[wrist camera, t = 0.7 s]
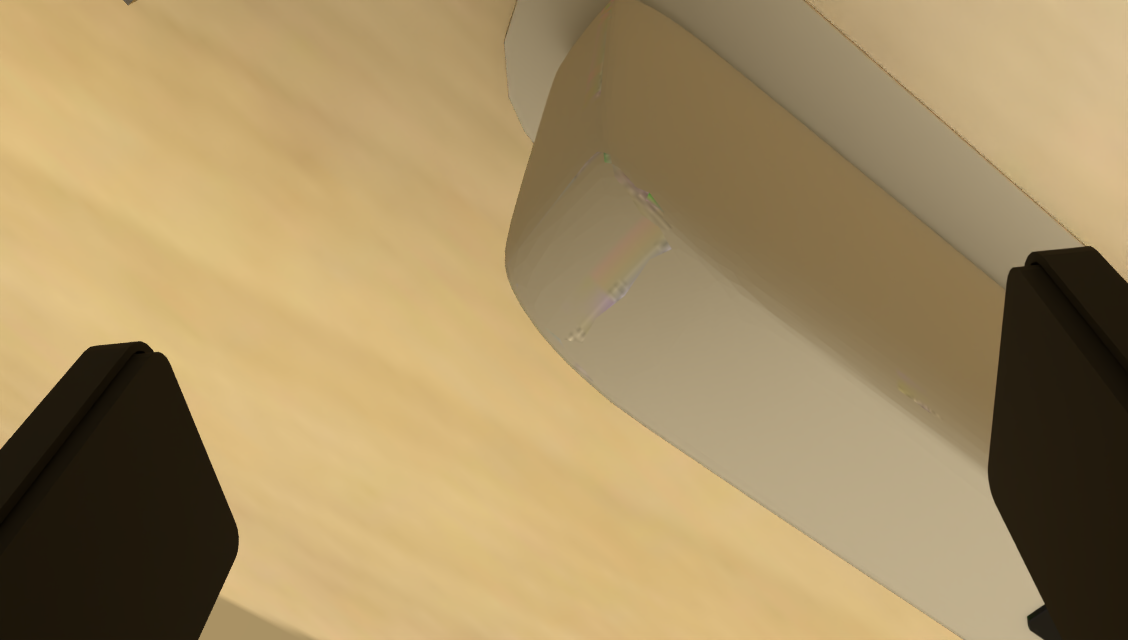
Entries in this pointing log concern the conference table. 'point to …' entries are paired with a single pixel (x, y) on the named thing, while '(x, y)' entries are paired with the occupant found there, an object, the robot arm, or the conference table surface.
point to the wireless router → (780, 277)
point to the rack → (129, 1)
